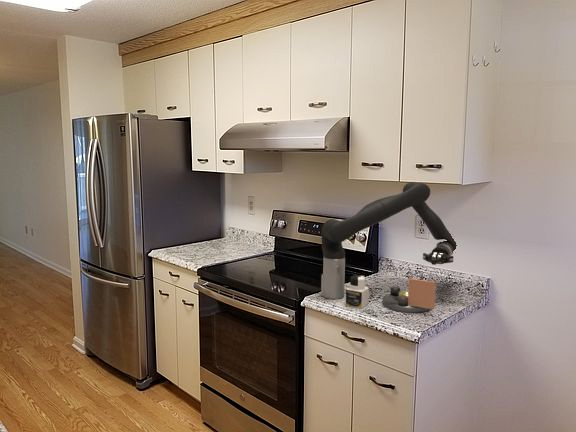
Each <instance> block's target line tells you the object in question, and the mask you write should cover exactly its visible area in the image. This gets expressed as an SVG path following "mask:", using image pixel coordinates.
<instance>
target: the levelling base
mask: <svg viewBox="0 0 576 432" xmlns="http://www.w3.org/2000/svg"><path fill="white" fill-rule="evenodd" d="M389 291H390V293H387V294H385V295H383V296H382V301H381V303H382V305H383V307H385V308H386V309H389V310H392V311H395V312H398V313H399V312H400V313H405V314H422V313H427V312H430V311H433V309H428V308H422V307H416V306H410V305H407V306H401V305H398V296H400V295H404V296H408V289H405V290H401V287H399V286H391V287H390V290H389Z"/></svg>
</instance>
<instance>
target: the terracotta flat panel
mask: <svg viewBox="0 0 576 432" xmlns="http://www.w3.org/2000/svg"><path fill="white" fill-rule="evenodd" d="M436 285H437V284H436V281H432V280H424V279H416V278H408V287H407V288H408V289H407V290H408V296H404V295H400V296H398V305H401V306H407V305H410V306H416V307H422V308H428V309H432V310H435V303H436V300H435V299H436Z"/></svg>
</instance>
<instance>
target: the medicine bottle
mask: <svg viewBox="0 0 576 432" xmlns="http://www.w3.org/2000/svg"><path fill="white" fill-rule="evenodd" d="M349 279H350V280H349V287H347V288H345V306H346V307H351V308H356V309H357V308H358V309H362V308H364V307H366V306H367V305H369V300H370V299H369V296H370V295H369V294H370V293H369V292H370V288H369V287H367V286H366V278H365V276H363V275H360V274H357V275H352V276H350V277H349Z"/></svg>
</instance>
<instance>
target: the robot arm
mask: <svg viewBox="0 0 576 432" xmlns="http://www.w3.org/2000/svg"><path fill="white" fill-rule="evenodd" d="M415 182H416V181H413V182H412V181H411V182H408V183H406V184H405V185H404V186H403V188H402V192H401V193H397V194H394V195H389V196H386V197H381V198H378V199H376V200H374V201H371V202H370V203H368V204H366V205H365V206H363V207H362V208H361V209H360V210H359V211H358V212H357V213H356V214H354V215H352V216H351V217H348V218H345V219H343V220H338V219H335V218H333V219H332V218H330V219H327V220H326V221H325V222H324V223H323V225H322V228H321V250H322V253H323V262H322V263H323V267H322V269H323V270H322V271H323V273H322V274H321V276H320V277H321V278H320V279H321V281H320V282H321V283H320V284H321V286H320V290H321V291H320V296H321V297H324V298H326V299H330V300H332V299H333V300H337V299H342V298H345V279H346V278H345V277H346V276H345V274H346V272H345V271H346V270H345V269H346V251H345V249H344V247H343V242H345V241H347V240H349V239H350V238H351V237H353V236H354V235H356V234H358V233H359V232H361V231H363V230H365V229H368V228H370V227H372V226H374V225H376V224H379V223H382V222H383V221H385V220H386V219H389V218H391V217H393V216H395V215H397V214H398V213H401V212H403V211H404V210H407V209H408V208H411V207H412V208H413V210H414V211H415V213H417V215H418V216H419V218H421V220H422V221H423V223H424V224H425V226H426V227H427V229H428V231H429V233H430V234H431V236H432V237H433V238H434V240H436V241H439V242H437V243H436V245H435V247H434V248H433V249H432V251H431V252H429V253H426V252H423V253H422V260H424V261H426V262H427V263H430V264H431V265H432V266H433V265H443V264H450V263H454V255H453V254H454V253H453V251H454V250H455V249H456V246H457V245H456V242H455V241H454V239H453V238H452V236H451V234H452V233H451V232H450V231H449V230H448V229H447V227H446V225H445V224H444V222H443V220H442V218H440V216H439V215H438V214H437V213H436V212H434V210H432V209H431V207H430V206H429V205H428V204H427V203H426V202H427V201H428V199H429V198H430V195H431V188H430V187H429V185H428V184H426V183H424V182H420V183H415ZM449 232H450V233H451V234H450V233H449ZM440 240H441V241H443V240H447V241H443V242H441V241H440Z"/></svg>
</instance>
